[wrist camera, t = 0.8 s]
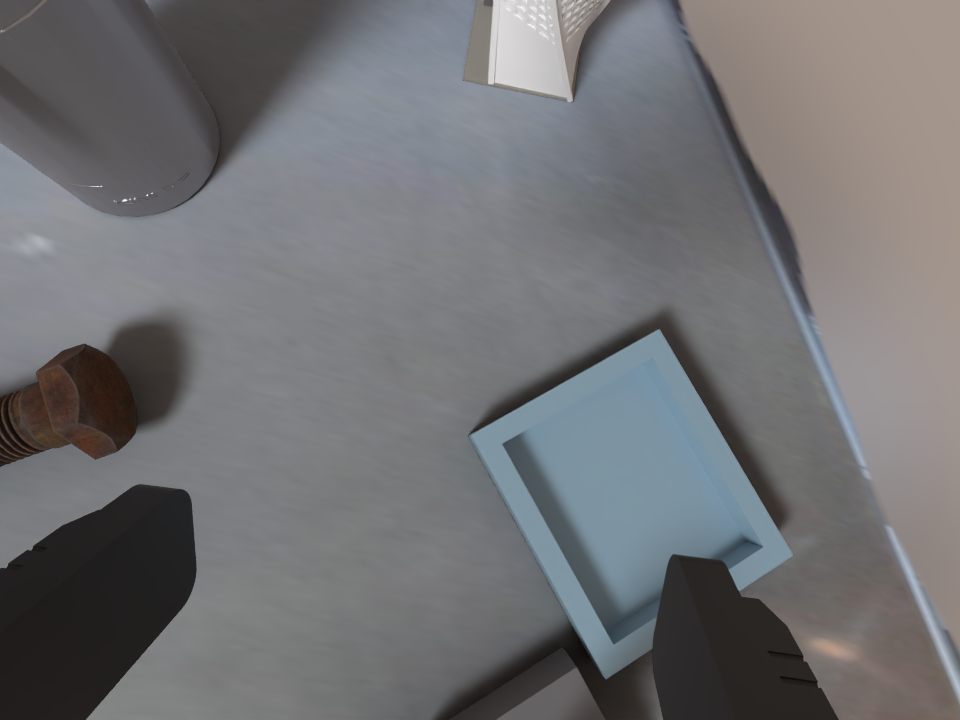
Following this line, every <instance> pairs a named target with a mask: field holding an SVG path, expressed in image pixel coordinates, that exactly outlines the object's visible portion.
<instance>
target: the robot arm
mask: <svg viewBox="0 0 960 720" xmlns="http://www.w3.org/2000/svg"><path fill="white" fill-rule="evenodd" d="M0 143H2V144H3V145H5V146H6V147H7V148H9V149H10V150H12V151H13V152H14V153H16V154H17V155H19V156H20V157H21V158H23V159H24V160H26V161H27V162H28V163H30V164H31V165H32V166H34V167H35V168H36V169H38V170H39V171H41V172H42V173H43V174H45V175H46V176H48V177H49V178H50V179H52V180H53V181H55V182H56V183H57V184H59V185H60V186H62V187H63V188H64V189H66V190H67V191H69V192H70V193H71V194H73V195H74V196H76V197H77V198H78V199H80V200H81V201H83V202H84V203H86V204H87V205H89V206H91V207H94V208H96V209H98V210H100V211H102V212H106V213H110V214H114V215H118V216H131V217H139V216H147V215H154V214H158V213H160V212H163V211H166V210H169V209H172V208H174V207H176V206H177V205H179V204H181V203H183V202H184V201H186V200H188V199H189V198H190V197H191V196H192V195H193V194H194V193H196V192H197V191H198V190H199V189H200V188H201V187H202V185H203V184H204V183H205V181H206V180H207V179H208V177H209V176H210V174H211V172H212V170H213V168H214V165H215V163H216V161H217V156H218V151H219V146H220V139H219V127H218V124H217V120H216V116H215V114H214V112H213V110H212V108H211V106H210V105H209V103H208V101H207V99H206V98H205V96H204V95H203V93H202V91H201V90H200V88H199V87H198V85H197V84H196V82H195V80H194V79H193V77H192V76H191V74H190V72H189V71H188V69H187V68H186V66H185V64H184V62H183V61H182V59H181V57H180V56H179V54H178V53H177V51H176V50H175V48H174V46H173V45H172V43H171V42H170V40H169V38H168V37H167V35H166V34H165V32H164V31H163V29H162V27H161V26H160V24H159V23H158V21H157V19H156V18H155V16H154V15H153V13H152V11H151V10H150V8H149V7H148V5H147V4H146V2H145V0H0ZM195 578H196V555H195V541H194V528H193V515H192V503H191V499H190V496H189V494H188V493H187V492H186V491H185V490H182V489H174V488H167V487H159V486H151V485H143V484H139V485H135V486H133V487H132V488H130V489H129V490H127V491H126V492H124V493H123V494H122V495H120V496H119V497H118V498H116V499H115V500H113V501H112V502H111V503H109V504H108V505H106V506H105V507H104V508H102V509H101V510H97V511H95V512H93V513H90V514H88V515H86V516H83V517H81V518H79V519H76V520H74V521H72V522H69V523H67V524H65V525H63V526H61V527H60V528H58V529H57V530H55V531H54V532H53V533H51V534H50V535H48V536H47V537H45V538H44V539H43V540H41V541H40V542H38V543H37V544H35V545H34V546H33V549H32V550H31V551H30V550H27V551H25V552H24V553H22V554H21V555H20V556H18V557H17V558H15V559H14V560H12V561H11V562H10V563H8V567H7V568H6V569H5V568H1V569H0V720H86V719H87V718H88V716H89V715H90V714H91V713H92V712H93V711H94V710H95V708H96V707H97V706H98V705H99V704H100V703H101V701H102V700H103V699H104V698H105V697H106V696H107V695H108V693H109V692H110V691H111V690H112V689H113V688H114V686H115V685H116V684H117V683H118V682H119V681H120V679H121V678H122V677H123V676H124V675H125V674H126V673H127V671H128V670H129V669H130V668H131V667H132V666H133V664H134V663H135V662H136V661H137V660H138V659H139V658H140V656H141V655H142V654H143V653H144V652H145V651H146V649H147V648H148V647H149V646H150V645H151V644H152V643H153V641H154V640H155V639H156V638H157V637H158V636H159V634H160V633H161V632H162V631H163V630H164V629H165V628H166V626H167V625H168V624H169V623H170V622H171V621H172V619H173V618H174V617H175V616H176V615H177V614H178V612H179V611H180V610H181V609H182V608H183V606H184V605H185V603H186V602H187V600H188V598H189V596H190V594H191V592H192V589H193V586H194V582H195ZM652 663H653V673H654V679H655V684H656V689H657V693H658V698H659V702H660V707H661V711H662V716H663V720H839V719H838V718H837V716H836V714H835V712H834V710H833V709H832V707H831V705H830V703H829V701H828V700H827V698H826V696H825V694H824V692H823V690H822V689H821V688H818V685H817V682H818V681H817V680H816V678H815V676H814V674H813V672H812V670H811V669H810V667H809V665H808V663H807V662H804V660H803V654H802V652H801V651H800V649H799V647H798V645H797V643H796V641H795V640H794V638H793V636H792V634H791V632H790V631H789V629H788V627H787V625H785V624H784V623H783V622H782V621H781V620H780V619H779V618H778V617H777V616H776V615H775V614H774V613H773V612H772V611H771V610H770V609H769V608H768V607H767V606H766V605H765V604H764V603H762V602H761V601H760V600H759V599H754V598H746V597H741V595H740V593H739V591H738V589H737V587H736V584H735V582H734V580H733V578H732V576H731V574H730V572H729V570H728V568H727V566H726V564H725V563H724V562H723V561H722V560H715V559H708V558H700V557H692V556H684V555H677V554H673V555H672V556H671V557H670V559H669V562H668V565H667V569H666V574H665V579H664V584H663V589H662V595H661V600H660V605H659V610H658V615H657V620H656V625H655V630H654V635H653V646H652Z"/></svg>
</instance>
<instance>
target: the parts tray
mask: <svg viewBox="0 0 960 720" xmlns="http://www.w3.org/2000/svg"><path fill="white" fill-rule="evenodd" d="M468 437H469V439H470V441H471V443H472V445H473V446H474V448H475V450H476V452H477V454H478V456H479V457H480V459H481V461H482V463H483V465H484V466H485V468H486V470H487V472H488V474H489V476H490V477H491V479H492V481H493V483H494V485H495V487H496V488H497V490H498V492H499V494H500V496H501V497H502V499H503V501H504V503H505V505H506V507H507V508H508V510H509V512H510V514H511V516H512V517H513V519H514V521H515V523H516V525H517V527H518V528H519V530H520V532H521V534H522V536H523V537H524V539H525V541H526V543H527V545H528V547H529V548H530V550H531V552H532V554H533V556H534V557H535V559H536V561H537V563H538V565H539V567H540V568H541V570H542V572H543V574H544V576H545V577H546V579H547V581H548V583H549V585H550V587H551V588H552V590H553V592H554V594H555V596H556V597H557V599H558V601H559V603H560V605H561V607H562V608H563V610H564V612H565V614H566V616H567V617H568V619H569V621H570V623H571V625H572V627H573V628H574V630H575V632H576V634H577V636H578V638H579V639H580V641H581V643H582V645H583V647H584V648H585V650H586V652H587V654H588V656H589V658H590V659H591V661H592V663H593V664H594V665H595V666H596V668H597V669H598V670H599V672H600V673H601V674H602V675H603V677H604V678H605V679H607V678H609V677H610V676H612V675H613V674H615V673H616V672H618V671H619V670H621V669H623V668H624V667H626V666H627V665H629V664H630V663H632V662H633V661H635V660H636V659H638V658H639V657H641V656H642V655H644V654H645V653H647V652H648V651H650V650H651V649H652V646H653V635H654V630H655V625H656V620H657V615H658V610H659V605H660V600H661V595H662V589H663V584H664V579H665V574H666V569H667V565H668V562H669V559H670V557H671V556H672V555H673V554H677V555H684V556H692V557H700V558H708V559H715V560H722V561H723V562H724V563H725V564H726V566H727V568H728V570H729V572H730V574H731V576H732V578H733V580H734V582H735V584H736V587H737V589H738V591H740V590H742V589H743V588H745V587H746V586H748V585H749V584H751V583H752V582H754V581H755V580H757V579H758V578H760V577H761V576H763V575H764V574H766V573H767V572H769V571H770V570H772V569H773V568H775V567H776V566H778V565H779V564H781V563H783V562H784V561H786V560H787V559H789V558H790V557H792V556H793V554H792V552H791V551H790V549H789V547H788V546H787V544H786V542H785V541H784V539H783V537H782V535H781V534H780V532H779V530H778V529H777V527H776V525H775V524H774V522H773V520H772V519H771V517H770V515H769V513H768V512H767V510H766V508H765V507H764V505H763V503H762V502H761V500H760V498H759V497H758V495H757V493H756V491H755V490H754V488H753V486H752V485H751V483H750V481H749V480H748V478H747V476H746V475H745V473H744V471H743V469H742V468H741V466H740V464H739V463H738V461H737V459H736V458H735V456H734V454H733V453H732V451H731V449H730V447H729V446H728V444H727V442H726V441H725V439H724V437H723V436H722V434H721V432H720V431H719V429H718V427H717V425H716V424H715V422H714V420H713V419H712V417H711V415H710V414H709V412H708V410H707V409H706V407H705V405H704V404H703V402H702V400H701V398H700V397H699V395H698V393H697V392H696V390H695V388H694V387H693V385H692V383H691V382H690V380H689V378H688V376H687V375H686V373H685V371H684V370H683V368H682V366H681V365H680V363H679V361H678V360H677V358H676V356H675V354H674V353H673V351H672V349H671V348H670V346H669V344H668V343H667V341H666V339H665V338H664V336H663V334H662V332H661V331H660V329H658V330H656V331H654V332H652V333H650V334H648V335H646V336H644V337H642V338H641V339H639V340H637V341H635V342H633V343H632V344H630V345H628V346H626V347H625V348H623V349H621V350H619V351H617V352H616V353H614V354H612V355H610V356H609V357H607V358H605V359H603V360H601V361H600V362H598V363H596V364H594V365H593V366H591V367H589V368H587V369H585V370H584V371H582V372H580V373H578V374H577V375H575V376H573V377H571V378H569V379H568V380H566V381H564V382H562V383H561V384H559V385H557V386H555V387H553V388H552V389H550V390H548V391H546V392H545V393H543V394H541V395H539V396H537V397H536V398H534V399H532V400H530V401H529V402H527V403H525V404H523V405H521V406H520V407H518V408H516V409H514V410H513V411H511V412H509V413H507V414H505V415H504V416H502V417H500V418H498V419H497V420H495V421H493V422H491V423H489V424H488V425H486V426H484V427H482V428H481V429H479V430H477V431H475V432H473V433H472V434H470V435H468Z"/></svg>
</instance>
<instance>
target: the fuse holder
mask: <svg viewBox="0 0 960 720" xmlns="http://www.w3.org/2000/svg"><path fill="white" fill-rule="evenodd" d="M449 720H605V718H604V716H603V714H602V713H601V711H600V709H599V707H598V705H597V703H596V702H595V700H594V698H593V696H592V694H591V692H590V691H589V689H588V687H587V685H586V683H585V681H584V680H583V678H582V676H581V674H580V672H579V670H578V669H577V667H576V665H575V664H574V663H573V661H572V660H571V658H570V657H569V655H568V654H567V652H566V651H565V649H564V648H563V647H561V648H560V649H558V650H556V651H555V652H553V653H552V654H550V655H549V656H547V657H546V658H544V659H542V660H541V661H539V662H538V663H536V664H535V665H533V666H532V667H530V668H528V669H527V670H525V671H524V672H522V673H521V674H519V675H518V676H516V677H514V678H513V679H511V680H510V681H508V682H507V683H505V684H504V685H502V686H500V687H499V688H497V689H496V690H494V691H493V692H491V693H490V694H488V695H486V696H485V697H483V698H482V699H480V700H479V701H477V702H476V703H474V704H473V705H471V706H469V707H468V708H466V709H465V710H463V711H462V712H460V713H459V714H457V715H455V716H454V717H452V718H451V719H449Z"/></svg>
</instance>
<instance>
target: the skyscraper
mask: <svg viewBox="0 0 960 720" xmlns="http://www.w3.org/2000/svg"><path fill="white" fill-rule="evenodd" d="M609 2H610V0H477V2H476V8H475V14H474V19H473V25H472V31H471V37H470V42H469V48H468V54H467V59H466V65H465V71H464V76H463V81H467V82H472V83H477V84H482V85H487V86H492V87H497V88H502V89H507V90H512V91H517V92H522V93H527V94H532V95H537V96H542V97H547V98H552V99H557V100H562V101H567V102H573V96H574V89H575V82H576V75H577V68H578V61H579V54H580V47H581V42H582V39H583V37H584V34H585V32H586V30H587V28H588V27H589V26H590V25H591V24H592V23H593V21H594V20H595V19H596V18H597V17H598V16H599V14H600V13H601V12H602V11H603V9H604V8H605V7H606V5H607V4H608V3H609Z"/></svg>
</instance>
